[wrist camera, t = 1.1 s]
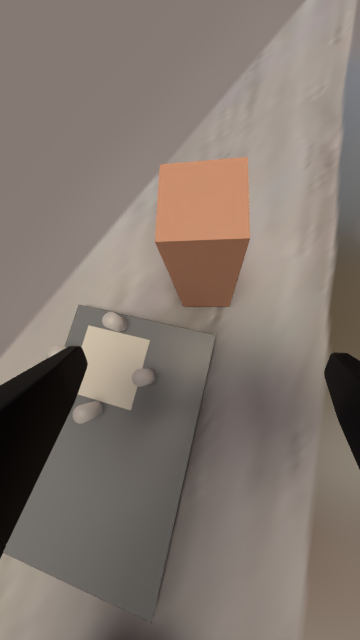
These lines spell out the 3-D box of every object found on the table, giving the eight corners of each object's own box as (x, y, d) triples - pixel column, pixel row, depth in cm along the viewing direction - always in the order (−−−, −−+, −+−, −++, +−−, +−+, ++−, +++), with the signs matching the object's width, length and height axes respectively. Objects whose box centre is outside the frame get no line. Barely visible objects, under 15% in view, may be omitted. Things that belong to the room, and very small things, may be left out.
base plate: (155, 606, 18) (141, 666, 14) (8, 539, 20) (-35, 575, 17) (215, 337, 22) (216, 331, 18) (85, 307, 24) (63, 297, 21)
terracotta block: (229, 306, 22) (250, 238, 11) (183, 306, 23) (155, 241, 11) (229, 263, 23) (247, 157, 11) (184, 264, 24) (159, 164, 12)
